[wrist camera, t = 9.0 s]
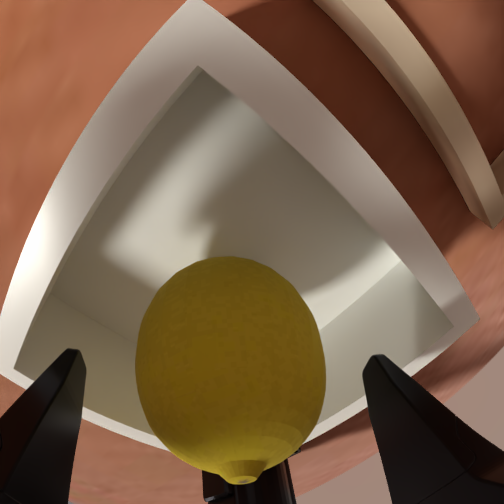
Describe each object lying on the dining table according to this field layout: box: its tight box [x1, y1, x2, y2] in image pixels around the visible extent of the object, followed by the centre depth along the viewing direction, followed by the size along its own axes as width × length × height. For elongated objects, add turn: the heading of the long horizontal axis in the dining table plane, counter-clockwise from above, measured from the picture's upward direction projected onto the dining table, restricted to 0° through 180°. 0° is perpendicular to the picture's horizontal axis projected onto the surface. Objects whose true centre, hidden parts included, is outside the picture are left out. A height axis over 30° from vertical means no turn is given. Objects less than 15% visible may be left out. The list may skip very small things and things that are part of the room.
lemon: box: [135, 256, 326, 484], centre depth 9 cm, size 6×6×8 cm
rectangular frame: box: [312, 0, 504, 229], centre depth 8 cm, size 12×12×2 cm
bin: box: [0, 0, 480, 451], centre depth 11 cm, size 13×13×5 cm
